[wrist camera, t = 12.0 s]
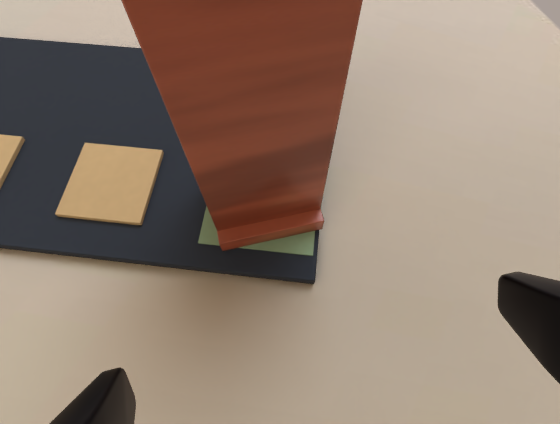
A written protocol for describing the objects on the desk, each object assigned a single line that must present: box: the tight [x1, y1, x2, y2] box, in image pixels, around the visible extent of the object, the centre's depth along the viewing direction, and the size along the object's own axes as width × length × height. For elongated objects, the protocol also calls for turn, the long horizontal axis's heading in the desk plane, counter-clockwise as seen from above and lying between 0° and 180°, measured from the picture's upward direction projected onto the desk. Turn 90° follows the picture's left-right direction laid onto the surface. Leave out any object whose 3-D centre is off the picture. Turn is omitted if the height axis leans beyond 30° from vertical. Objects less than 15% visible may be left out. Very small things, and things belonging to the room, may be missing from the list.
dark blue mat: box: [0, 37, 321, 284], centre depth 21 cm, size 24×14×1 cm, turn 83°
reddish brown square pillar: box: [122, 0, 363, 251], centre depth 13 cm, size 5×5×13 cm
